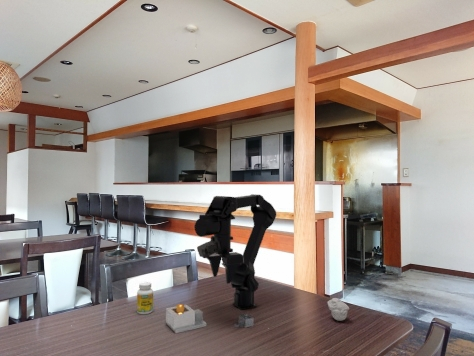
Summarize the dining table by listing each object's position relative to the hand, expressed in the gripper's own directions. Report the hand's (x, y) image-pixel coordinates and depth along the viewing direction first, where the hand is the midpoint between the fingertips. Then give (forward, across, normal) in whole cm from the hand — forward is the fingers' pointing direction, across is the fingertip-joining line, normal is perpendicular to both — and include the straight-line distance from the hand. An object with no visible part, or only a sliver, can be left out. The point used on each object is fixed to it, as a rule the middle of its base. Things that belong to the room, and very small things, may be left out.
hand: (221, 279), depth 113 cm
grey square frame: (+11, +1, -15) cm, 19 cm away
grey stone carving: (+12, +22, +32) cm, 41 cm away
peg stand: (+12, +1, -13) cm, 18 cm away
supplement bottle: (+12, -16, -21) cm, 29 cm away
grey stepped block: (+12, +10, +2) cm, 16 cm away
